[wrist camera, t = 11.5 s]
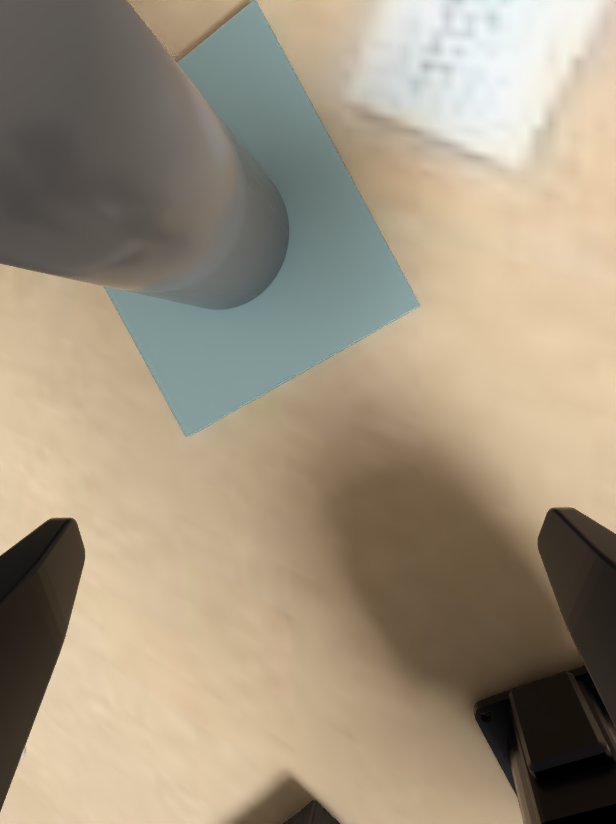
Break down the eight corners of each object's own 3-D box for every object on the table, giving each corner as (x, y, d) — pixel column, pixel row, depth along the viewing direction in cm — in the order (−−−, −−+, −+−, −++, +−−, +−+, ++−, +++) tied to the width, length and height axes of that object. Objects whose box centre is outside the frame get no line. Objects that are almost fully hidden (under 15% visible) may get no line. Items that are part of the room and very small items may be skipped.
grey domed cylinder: (293, 304, 21) (111, 229, 8) (156, 314, 22) (-181, 262, 10) (285, 146, 20) (73, -202, 7) (144, 167, 21) (-237, -101, 9)
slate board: (419, 306, 20) (419, 304, 20) (193, 433, 23) (185, 436, 23) (261, 11, 20) (254, -2, 20) (54, 177, 23) (41, 172, 23)
